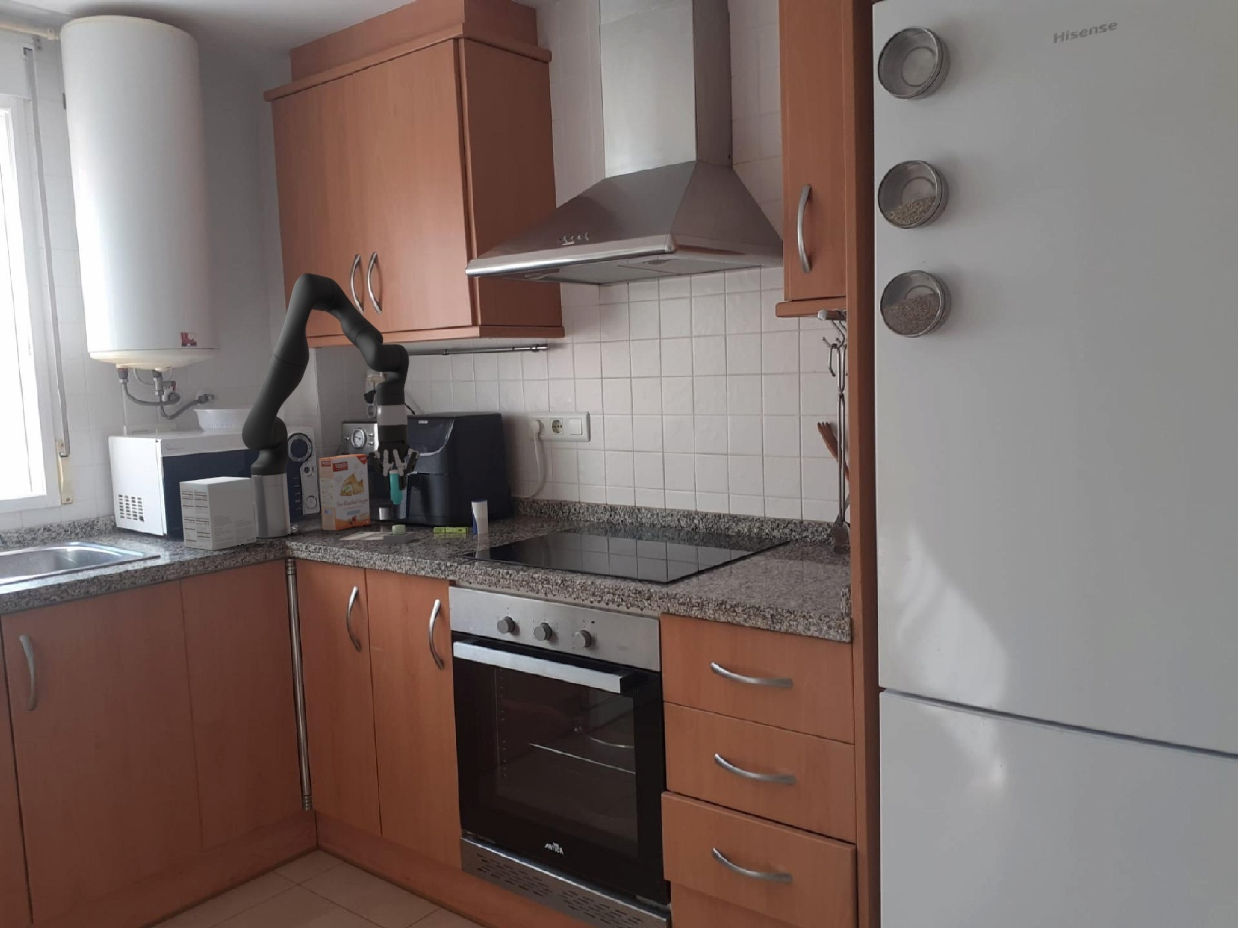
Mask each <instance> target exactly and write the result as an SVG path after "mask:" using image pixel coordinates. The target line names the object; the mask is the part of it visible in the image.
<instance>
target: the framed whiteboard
mask: <svg viewBox="0 0 1238 928" xmlns="http://www.w3.org/2000/svg"><path fill="white" fill-rule="evenodd" d="M389 533H392V531H376V532H375V531H358V532H355V533H352V534H350V535H345V536H344V537H342V538H339V539H337V540H338V541H383V536H384V535H387V534H389Z"/></svg>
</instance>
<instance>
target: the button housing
mask: <svg viewBox="0 0 1238 928" xmlns="http://www.w3.org/2000/svg"><path fill="white" fill-rule="evenodd" d="M391 532H392V531H391ZM415 533H416V532H415V531H405V535H393V532H392V533H389V534H387V535H384V536H383V540H382V543H383V544H408V543H410V542H411V541H413V540H416V534H415Z"/></svg>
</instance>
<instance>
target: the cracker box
mask: <svg viewBox="0 0 1238 928" xmlns="http://www.w3.org/2000/svg"><path fill="white" fill-rule="evenodd" d="M318 470H319V474H318V475H319V489H320V490H319V491H320V492H319V493H320V506H321V509H320V510H321V525H322V526H321V527H322V530H324V531H325V530H326V531H339V530H345V529H349V528H352V527H364V526H363V525H366V526H369V524H370V525H371V517H370V516H371V515H370V513H371V512H370V495H369V491H370V490H369V473H368V455H367V454H365V453H353V454H345V455H344V454H343V455H335V456H329V457H320V458H318Z"/></svg>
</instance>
